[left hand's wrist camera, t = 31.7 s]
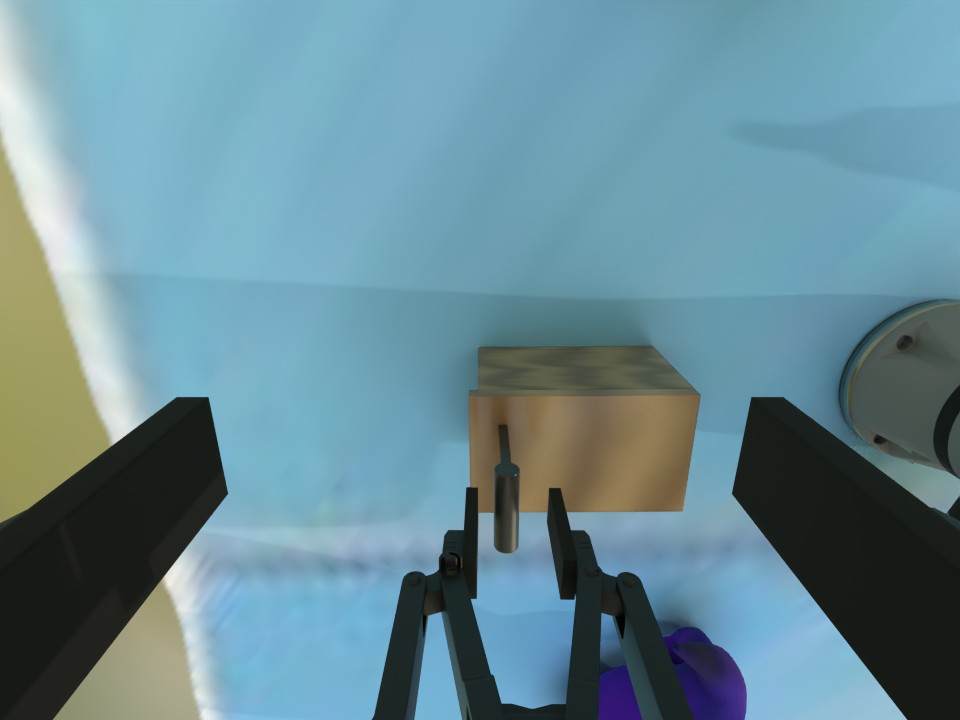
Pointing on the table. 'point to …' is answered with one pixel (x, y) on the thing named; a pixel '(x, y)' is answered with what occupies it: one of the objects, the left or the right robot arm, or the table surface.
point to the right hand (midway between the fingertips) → (513, 505)
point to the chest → (576, 368)
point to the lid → (579, 451)
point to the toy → (683, 681)
